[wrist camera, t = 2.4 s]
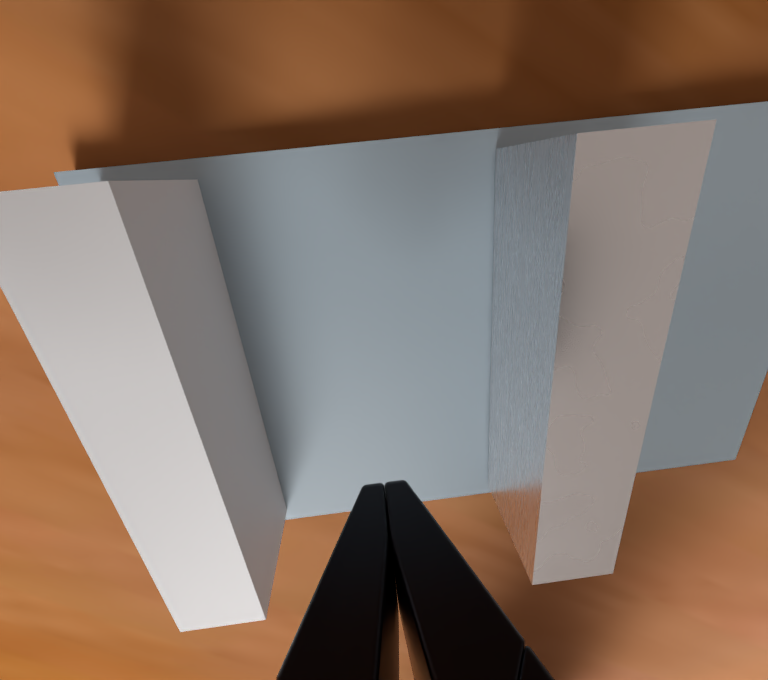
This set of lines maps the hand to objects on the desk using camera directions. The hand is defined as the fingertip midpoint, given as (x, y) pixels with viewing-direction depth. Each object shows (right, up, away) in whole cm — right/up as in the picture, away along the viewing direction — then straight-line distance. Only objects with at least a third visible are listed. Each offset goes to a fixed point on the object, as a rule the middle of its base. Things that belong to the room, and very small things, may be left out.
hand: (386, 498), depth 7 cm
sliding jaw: (+5, +3, +5) cm, 8 cm away
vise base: (+3, +3, +6) cm, 7 cm away
